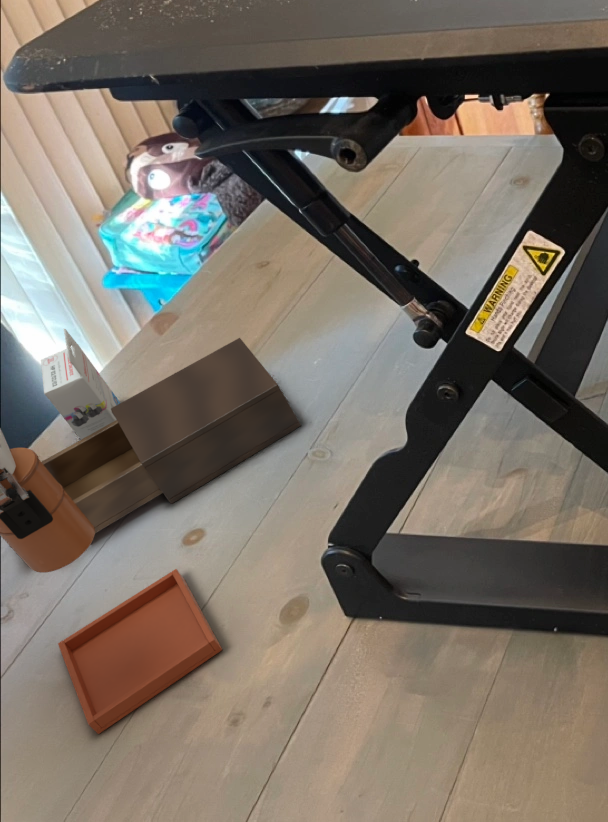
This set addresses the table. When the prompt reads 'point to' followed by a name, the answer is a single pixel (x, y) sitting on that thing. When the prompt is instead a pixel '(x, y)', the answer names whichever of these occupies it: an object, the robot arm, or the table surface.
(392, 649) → the table surface
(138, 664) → the tray
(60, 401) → the ink box
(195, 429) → the cabinet
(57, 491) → the lidded orange canister
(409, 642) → the table surface
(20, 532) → the robot arm
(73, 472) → the drawer
